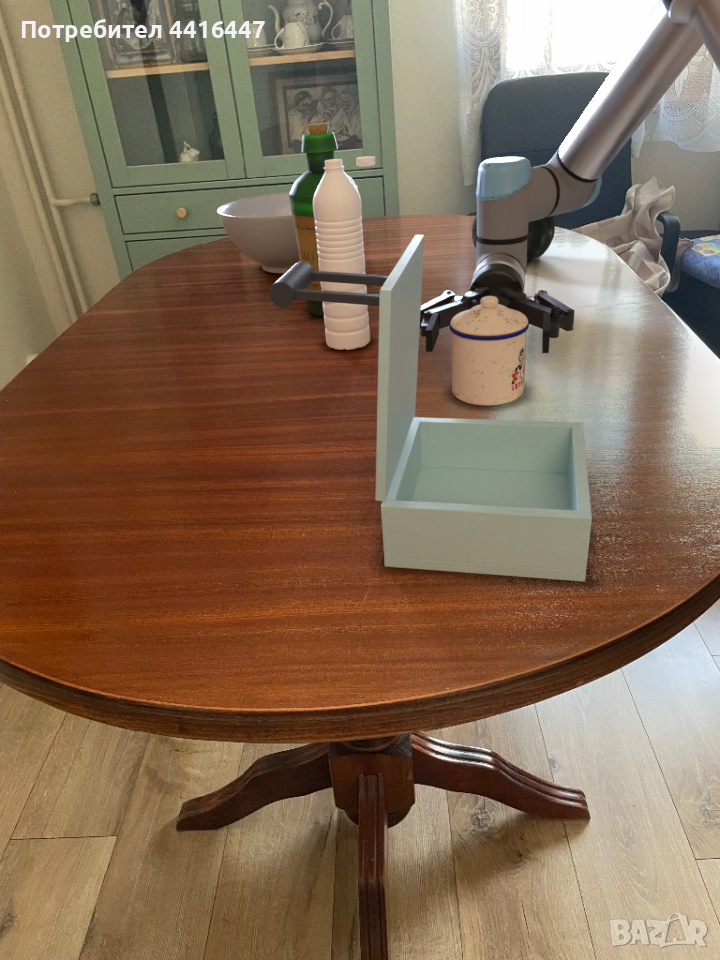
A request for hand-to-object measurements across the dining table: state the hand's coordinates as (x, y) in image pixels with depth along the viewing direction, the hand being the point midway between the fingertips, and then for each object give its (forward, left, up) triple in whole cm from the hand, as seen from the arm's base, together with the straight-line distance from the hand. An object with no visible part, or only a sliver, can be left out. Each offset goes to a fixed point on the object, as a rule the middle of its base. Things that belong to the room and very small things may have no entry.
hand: (486, 341), depth 85 cm
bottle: (+27, -31, -7) cm, 42 cm away
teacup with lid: (0, -1, -7) cm, 7 cm away
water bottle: (+20, -16, -7) cm, 27 cm away
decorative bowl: (+43, -60, -7) cm, 74 cm away
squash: (-1, -61, -7) cm, 62 cm away
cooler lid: (+5, +28, +8) cm, 29 cm away
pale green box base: (-2, +28, -6) cm, 28 cm away
